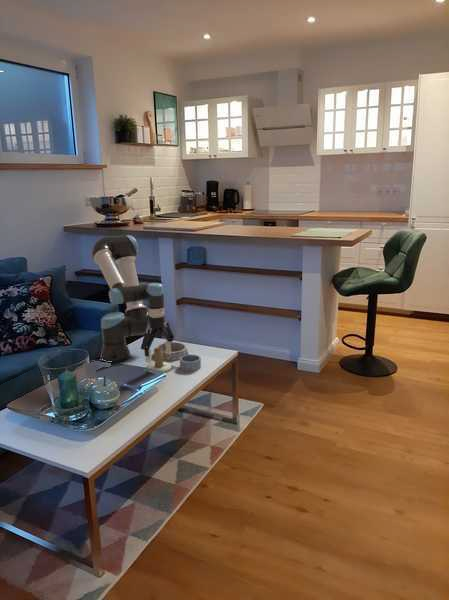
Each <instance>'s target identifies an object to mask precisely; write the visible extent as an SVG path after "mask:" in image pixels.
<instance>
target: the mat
mask: <svg viewBox="0 0 449 600" xmlns="http://www.w3.org/2000/svg"><path fill="white" fill-rule="evenodd" d="M171 366H172V368H171V370H170V371H168V372H165V374H167V373H169V372H172V371H174V370H176V369H178V368H179V367H178V366H176V365H172V364H171ZM145 367H146V368H147V366H145Z"/></svg>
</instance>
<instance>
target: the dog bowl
mask: <svg viewBox="0 0 449 600" xmlns="http://www.w3.org/2000/svg"><path fill="white" fill-rule="evenodd" d="M157 347H161V348H162V350H163V362H175V361H180V357H182V356H184V355H188V354H189V351H188V348H187V345H186V344H185V343H182V342H178V341H171V354H166V342H163V343H160V344H158V345H156V347H155V348H157Z"/></svg>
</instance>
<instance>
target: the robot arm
mask: <svg viewBox="0 0 449 600" xmlns="http://www.w3.org/2000/svg"><path fill="white" fill-rule="evenodd" d="M139 252H140V251H139V244H138V242H137V240H136V238H135V237H134V236H132V235H128V234H127V235H124V234H123V235H115V236H114V235H113V236H103V237H100V238H99V239H98V240H96V241H95V243H94V245H93V246H92V249H91V256H92V259H93V261H94V263H95V264H97V265H98V266H99V268H100V271H101V273H102V275H103V277H104V279H105V281H106V283H107V285H108V287H109V291H108V297H109V301H110V303H111V305H121V304H125V305H126V309H125V311H124V312H122V311H121V312H120V311H117V312H116V311H115V312H110V313H107V314H105V315H104V316H102V317H101V320H100V322H101V323H100V328H101V337H102V347H101V352H100V355H99V356H100V361H101V360H102V359H103V360H106V361H112V362H118V363H122V361H123V362H125V361H127V360H129V359H130V358H131V351H130V350H129V346H128V344H127V340H126V338H128V337H134V336H140V335H144V336H143V339H142V341H141V342H142V343H141V346H140V350H143V351H144V356H145V362H146V363H149V364H150V363H152V353H151V352H152V351H151V349H150V348H151V345H153V342H154V340H155V338H156V337H157V336H159V335H162V336H163V337H164V338H165V343H166V351H165V352H166V354H171V352H172V351H171V342H174V340H175V336H174V333H173V332H172V329H171V327H170V322H166V320H165V317H166V316H165V302H164V301H165V300H164V298H165V296H164V294H165V292H164V286H163V284H162V283H160V282H151V283H147V282H142V283H140V282H139V278H138V273H137V269H136V264H135V261H136V260H137V256H139ZM117 266H118V267H117ZM143 301H147V306H146V305H144V302H143Z"/></svg>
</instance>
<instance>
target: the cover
mask: <svg viewBox="0 0 449 600" xmlns="http://www.w3.org/2000/svg"><path fill="white" fill-rule="evenodd" d="M153 352H154V353H153V354H154V355H153V357H154V361H153V362H151V363H149V364H147V365H146V367H147V368H149V369H153V370H158V371H162V372H167V373H169V372H171V371H170V370H171V368H172V366H173V365H172V364H171V363H170V362H169V361H163V350H162V348H161V347H157V348H156V347H154V348H153ZM171 365H172V366H171ZM168 371H169V372H168Z"/></svg>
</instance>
